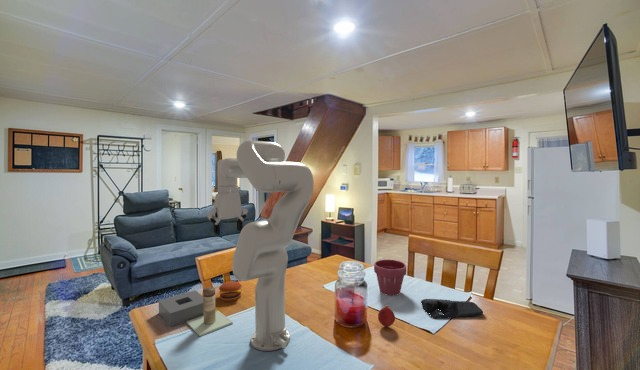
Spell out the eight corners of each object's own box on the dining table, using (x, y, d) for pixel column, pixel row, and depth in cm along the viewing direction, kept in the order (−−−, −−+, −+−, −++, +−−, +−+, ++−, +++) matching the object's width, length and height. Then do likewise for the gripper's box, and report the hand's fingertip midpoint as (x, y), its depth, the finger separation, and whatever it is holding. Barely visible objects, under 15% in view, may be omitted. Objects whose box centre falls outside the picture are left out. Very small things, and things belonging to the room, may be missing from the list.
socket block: (209, 313, 114) (209, 301, 114) (170, 327, 105) (170, 313, 104) (195, 301, 124) (195, 290, 124) (158, 313, 115) (158, 300, 114)
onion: (382, 332, 101) (382, 310, 101) (375, 324, 107) (375, 302, 106) (397, 330, 103) (398, 307, 102) (389, 321, 108) (389, 300, 108)
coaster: (232, 323, 107) (232, 321, 107) (199, 336, 99) (199, 334, 99) (218, 311, 116) (218, 310, 116) (186, 323, 107) (186, 321, 107)
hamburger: (219, 294, 132) (219, 279, 132) (241, 291, 135) (241, 277, 134) (218, 303, 123) (218, 287, 123) (242, 300, 126) (242, 285, 125)
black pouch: (489, 321, 109) (489, 309, 109) (428, 320, 110) (428, 307, 110) (470, 302, 125) (470, 291, 124) (417, 301, 126) (417, 290, 125)
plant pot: (367, 290, 135) (367, 263, 135) (385, 282, 145) (386, 257, 144) (394, 301, 125) (394, 271, 124) (411, 292, 134) (412, 264, 133)
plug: (217, 321, 107) (217, 289, 106) (206, 325, 104) (205, 292, 103) (212, 317, 110) (212, 286, 109) (201, 321, 107) (201, 289, 106)
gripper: (242, 188, 127) (243, 227, 128) (202, 190, 115) (203, 234, 116) (251, 189, 122) (252, 230, 123) (210, 191, 110) (211, 237, 111)
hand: (228, 232), depth 119 cm, fingers open, 9 cm apart
